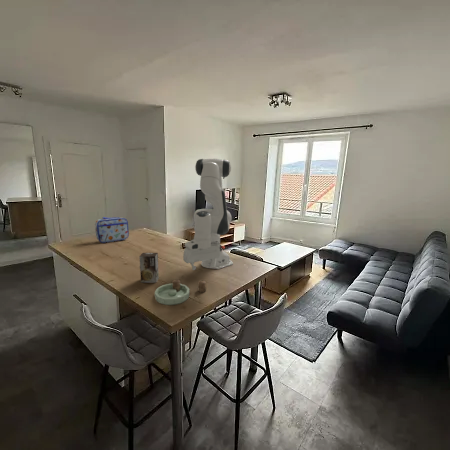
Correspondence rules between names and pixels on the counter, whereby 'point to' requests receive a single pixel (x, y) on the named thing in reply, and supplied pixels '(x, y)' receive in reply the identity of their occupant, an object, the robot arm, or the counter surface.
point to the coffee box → (149, 267)
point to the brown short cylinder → (202, 286)
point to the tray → (171, 294)
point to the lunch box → (111, 229)
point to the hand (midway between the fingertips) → (202, 268)
